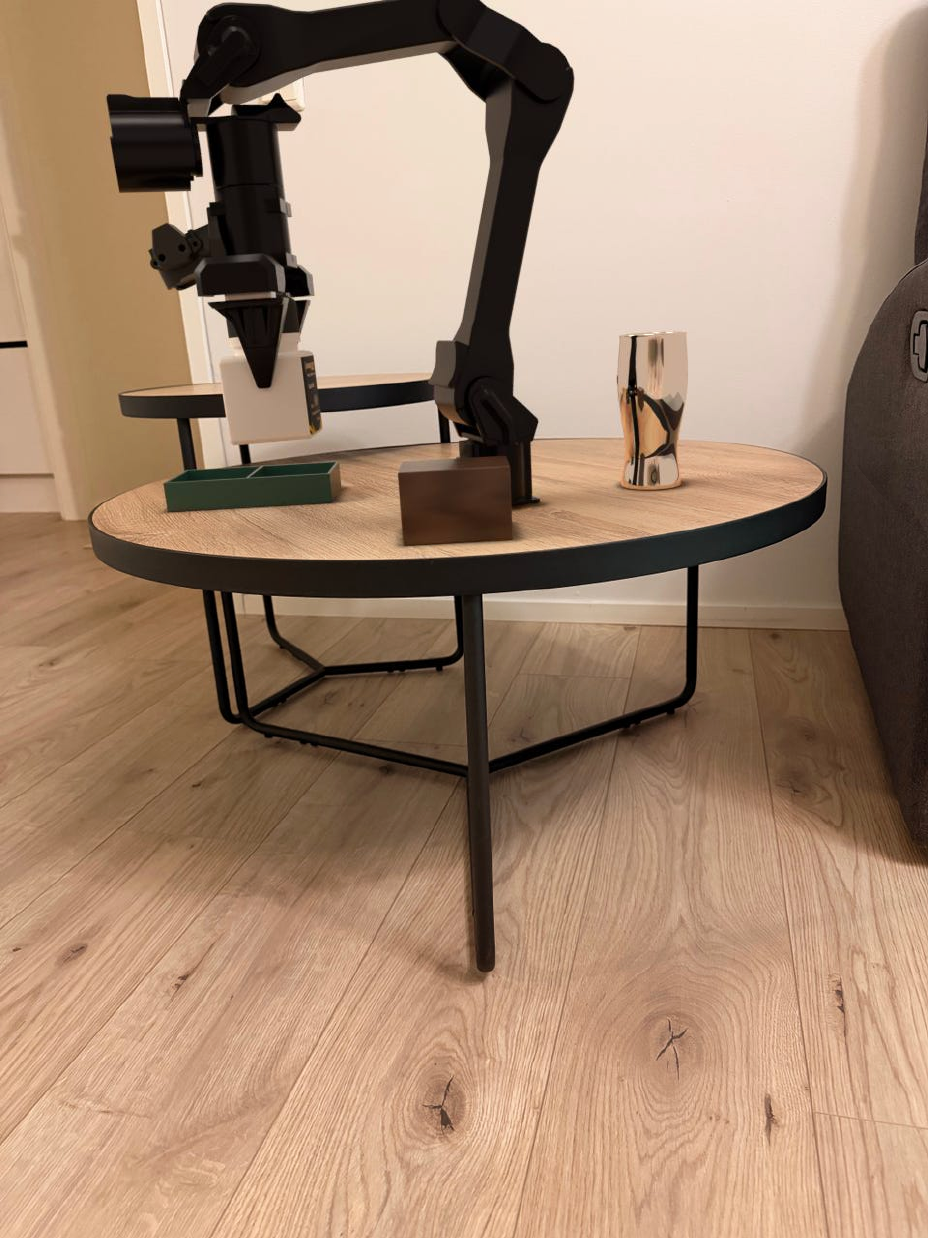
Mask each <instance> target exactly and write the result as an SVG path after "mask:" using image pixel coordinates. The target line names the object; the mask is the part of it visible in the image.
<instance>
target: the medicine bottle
mask: <svg viewBox="0 0 928 1238" xmlns="http://www.w3.org/2000/svg"><path fill="white" fill-rule="evenodd" d="M278 297H285V298H289V301H288V307H287V312H286V317H285V322H284V326H283V332H282V337H281V342H280V347H279V352H278V357H277V362H276V367H275V372H274V377H273V381H272V386H271V387H270V388H263V389H260V388H258V387H257V385H256V382H255V380H254V377H253V375H252V372H251V369H250V367H249V364H248V362H247V359H246V356H245V354H244V351H243V348H242V346H241V343H240V341H239V338H238V336H237V334H236V331H235V329H234V326H233V325H232V323H231V322H230V321H229V320H228V319H226V318H225V321H226V322H225V323H226V327H227V335H228V336H227V337H228V342H229V348H233V350H234V355H231V356H226V357H223V358H220V359H219V360H218V362H217V364H218V372H219V377H220V385H221V391H222V397H223V406H224V411H225V418H226V424H227V432H228V437H229V442H230V444H231V445H233V446H240V445H253V444H255V445H256V444H266V443H279V442H290V441H302V440H310V439H311V440H312V438H314V437H315V436H317V434H319V433H320V432H321V431H323V421H322V412H321V406H320V404H321V403H320V398H319V397H320V396H319V389H318V388H319V387H318V380H317V371H316V364H315V355H314V352H312V351H311V350H304V349H303V350H299V344H298V345H297V342H298V343H300V342H302V341H301V335H300V331H299V323H298V315H297V307H296V302H295V301H294V300H293V299H292V298H290V297H288V296H286V295H276V298H278Z"/></svg>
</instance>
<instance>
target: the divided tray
mask: <svg viewBox="0 0 928 1238" xmlns="http://www.w3.org/2000/svg"><path fill="white" fill-rule="evenodd" d="M341 489H342V479H341V467H340V461H323V462H319V461H318V462H305V463H288V464H287V463H286V464H270V465H251V466H237V467H217V468H216V467H215V468H200V469H185V470H184V471H182V472H180V473H178V474H176V475H175V476H173V477H172V478H170V479H168V480H166V481H164V482H163V490H164V497H165V503H166V509H167V510H166V511H167V512H168V513H171V512H187V511H206V510H221V509H239V508H241V509H242V508H259V507H273V506H294V505H308V504H327V503H333V502H334V500H335V499H336V498H337V496H338V495H339V493H340V491H341Z"/></svg>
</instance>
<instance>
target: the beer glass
mask: <svg viewBox="0 0 928 1238" xmlns="http://www.w3.org/2000/svg"><path fill="white" fill-rule="evenodd" d="M688 358H689V357H688V343H687V331H685V330H684V331H683V330H681V331H680V330H677V331H676V330H675V331H673V330H672V331H654V332H653V331H652V332H634V333H624V334H623V333H622V334H619V335H618V347H617V358H616V359H617V360H616V394H617V403H618V409H619V416H620V421H621V427H622V434H623V440H624V462H623V468H622V469H623V470H622V474H621V481H620V484H621V486H622V487H623V488H625V489H631V490H637V491H639V490H640V491H641V490H642V491H657V490H666V489H674V488H677V487H679V486H681V484H682V476H681V470H680V463H679V451H678V450H679V439H680V433H681V427H682V421H683V416H684V411H685V406H686V399H687V393H688V380H689V378H688V377H689V359H688Z"/></svg>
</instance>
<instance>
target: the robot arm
mask: <svg viewBox="0 0 928 1238" xmlns="http://www.w3.org/2000/svg"><path fill="white" fill-rule="evenodd" d="M196 33H197V34H196V40H195V45H194V51H193V66H192V67H191V69H190V71H189V73H188V75H187V77H186V78H183V79H181V85H180V86H181V87H180V90H179V94H178V95H179V97H178V96H132V95H129V94H124V93H108V94H107V95H106V96H105V99H106V106H107V111H108V119H109V123H110V130H111V136H109V141H110V146H111V153H112V159H113V165H114V170H115V171H114V172H115V177H116V182H117V188H118V193H119V194H133V193H139V194H140V193H174V192H175V193H177V192H192V182H195V178H203V177H204V165H203V156H202V155H203V154H202V148H201V140H200V135H199V133H204V132H205V137H206V144H207V152H208V159H209V165H210V167H209V168H210V174H211V182H212V188H213V196H214V197H213V198H214V201H209V202H208V206H207V207H206V209H205V211H206V218H207V219H206V220H207V223H206V224H204V225H202V226H199V227H198V228H194V229H193V228H190V229H187V230H186V233H184V232H183V231H182V230H180V228H178V227H177V226H176V225H174V224H172V223H168V222H165V223H163V224H161V225H159V226H157V227H155V228H153V229H152V230H151V248H150V249H148V250H147V252H148V253H149V256H150V261H149V265H150V268H152V269H153V270H156V271H157V272H158V273H159V275H160V277H161V279H162V281H163V283H164V285H165V287H166V289H167V290H168V291H171V290H173V289H175V290H176V291H178V292H181V291H185V290H188V289H190V288H191V287H193V286H196V293H197V297H199V298H214V297H215V296H224V300H223V301H222V300H218V301H208V302H207V305H208V306H209V307H210V308H211V309H212V310H215V312H217V313H218V314H220V315H221V316H222V317H224V318H225V320H226V319H228V320H229V321H230V322H231V323H232V325H233V326H234V329H235V331H236V334H237V336H238V338H239V341H240V343H241V346H242V348H243V351H244V354H245V356H246V359H247V362H248V364H249V367H250V369H251V372H252V375H253V377H254V380H255V382H256V385H257V387H258V388H260V389H263V388H270V387H271V386H272V381H273V377H274V372H275V367H276V362H277V357H278V352H279V347H280V342H281V337H282V332H283V326H284V322H285V317H286V312H287V307H288V301H289V298H285V297H278V298H276V295H286V296H288V297H290V298H292V299H293V300H294V301H295V302H296V307H297V315H298V323H299V331H300V336H301V334H302V331H303V328H304V325H305V320H306V318H307V314H308V310H309V307H310V306H311V304H312V303H311V301H312V300H311V299H296V298H304V297H305V298H306V297H315V296H316V295H315V285H314V276H313V274H312V273H311V272H310V271H309V270H308V269H306V268H305V267H304V266H303V265H302V264H298V258H297V255H295V254H293V253H292V244H291V237H290V227H289V226H290V225H289V218H292V217H293V214H292V204H291V203H289V202H288V201H287V200H286V192H285V191H286V190H285V183H284V175H283V174H284V173H283V165H282V157H281V149H280V139H279V132H294V131H296V129H297V128H298V126H299V125H300V123H301V121H302V115H301V113H300V112H298V111H297V110H295V109H294V108H293V107H292V106H291V105H289V104H288V103H287V102H286V101H285V99H284V98H283V96H282V95H281V93H279V92H276V91H279V90H281V89H283V88H285V87H287V86H288V85H291V84H293V83H294V82H296V81H299V80H301V79H303V78H305V77H309V76H310V75H313V74H317V73H325V72H329V71H336V70H342V69H348V68H353V67H359V66H364V65H371V64H376V63H383V62H388V61H394V60H401V59H407V58H413V57H418V56H424V55H430V54H436V53H437V54H438V55H439V56H440V57H441V58H443V59H444V60H445V61H446V62H447V63H448V64H449V65H450V67H451V68H452V69H453V70H454V72H455V73H456V75H457V76H458V77H459V78H460V81H462V82H463V84H464V85H465V86H466V88H467V89H468V90H469V91H470V92H471V93H472V94H474V96H476V97H477V98H478V99H479V100H480V101H482V102H483V103H484V104H485V115H484V116H485V117H484V118H485V120H484V121H485V123H484V126H485V127H484V130H485V137H486V144H487V150H488V157H489V168H488V174H487V180H486V185H485V190H484V197H483V201H482V207H481V212H480V218H479V224H478V230H477V235H476V236H477V237H476V241H475V247H474V252H473V257H472V264H471V269H470V274H469V281H468V285H467V291H466V296H465V302H464V308H463V314H462V318H461V322H460V325H459V326H458V327H459V328H458V329H457V330H456V333H455V334H454V336H453V339H452V340H448V339H447V340H445V339H444V340H443V339H442V340H440V339H438V340H437V341H436V342H435V343H436V345H435V354H434V355H435V358H434V359H435V361H434V368H433V372H432V374H431V376H430V377H429V379H428V381H427V383H428V385H432V386H433V400H434V404H435V405H436V407H437V409H438V410H439V412H440V413H441V415H443V416H444V417H445V418H446V419H447V420H448V421H451V422H452V424H453V427H454V429H455V431H456V434H457V437H458V438H461V439H462V438H464V440H459V441H458V450H459V451H458V454H459V456H456V457H455V459H457V458H475V457H493V456H506V458H507V460H508V463H509V466H510V479H511V505H512V508H514V507H521V506H527V505H528V506H529V505H534V504H541V498H540V497H539V496H536V495H533V472H532V471H533V469H532V442H533V441H534V439H535V435H536V432H537V429H538V427H539V418H538V417H537V416H536V415H535V414H534V413H532V412H531V411H530V410H529V409H528V408H527V407H526V406H525V405H524V404H523V403H522V402H521V401H520V400H519V399H518V398H516V396H514V386H515V385H514V384H515V360H514V354H513V348H512V342H511V336H510V335H511V333H510V328H511V323H512V318H513V313H514V306H515V302H516V297H517V291H518V287H519V281H520V276H521V271H522V265H523V259H524V255H525V250H526V244H527V238H528V234H529V228H530V223H531V219H532V213H533V207H534V203H535V198H536V192H537V186H538V182H539V177H540V172H541V169H542V166H543V163H544V161H545V159H546V157H547V155H548V153H549V151H550V149H551V148H552V146H553V145H554V142H555V141H556V138H557V136H558V134H559V132H560V131H561V129H562V126H563V123H564V119H565V117H566V114H567V112H568V108H569V106H570V103H571V100H572V97H573V94H574V90H575V71H574V68H573V67H572V66H571V65H570V62H569V61H568V59H567V57H566V55H565V54H564V52H562V51H561V50H560V49H559V47H557V46H554V45H553V44H552V43H549V42H544V41H543V42H542V41H541V40H540V39H539V38H537V36H536V35H535V34H533V32H531V31H530V30H529V29H528V28H526V26H524V25H523V24H521V23H519V22H517V21H515V20H514V19H512V18H510V17H508V16H506V15H504V14H502V13H501V12H498V11H496V10H494V9H493V8H491V7H489V6H487V4H485V3H484V2H483V1H482V0H375V1H369V2H363V3H362V2H361V3H355V4H348V5H342V6H335V7H329V8H322V9H316V10H307V11H306V10H294V9H289V8H285V7H281V6H277V5H273V4H270V3H269V4H268V3H253V2H252V3H251V2H233V1H230V2H229V1H228V2H221V3H218V4H215V5H213V6H212V7H211V8H209V9H208V10H207V11H206V12H205V14H204V15H203V17H202V18H201V21H200V23H199V24H198V27H197V32H196ZM274 92H275V93H274ZM271 93H274V95H272V98H271V99H270V101H269V102H268V103H267V104H247V103H249V102H252V101H254V100H256V99H259V98H262V97H264V96H267V95H269V94H271ZM225 104H226V105H229V106H230V107H231V108H230V115H219V116H212V115H213V114H214V113H215V112H216V111H218V110H219V109H220V108H221V107H222V106H224V105H225ZM297 345H298V346H299V342H297Z"/></svg>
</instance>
